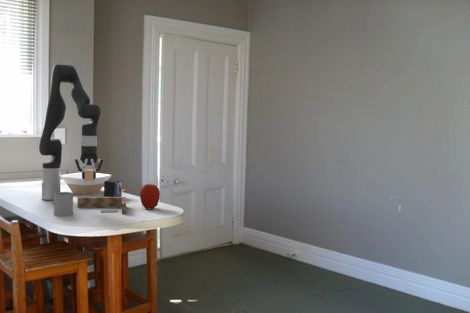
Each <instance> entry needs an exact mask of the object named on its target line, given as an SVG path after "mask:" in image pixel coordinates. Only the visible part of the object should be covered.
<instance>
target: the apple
mask: <svg viewBox="0 0 470 313" xmlns="http://www.w3.org/2000/svg"><path fill="white" fill-rule="evenodd" d="M160 192H161V190H160V188H159V187H158V185H156V184H151V183H148V184H144V185H143V186H142V187H141V188H140V192H139V198H140V199H139V200H140V203H141V205H142V206H143V208H144V209H145V210H152V209H153V210H154V209H155V208H156V207H157V206H158V205H159V201H160V196H161V193H160Z"/></svg>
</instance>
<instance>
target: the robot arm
mask: <svg viewBox="0 0 470 313" xmlns="http://www.w3.org/2000/svg"><path fill="white" fill-rule="evenodd" d="M50 81H51V82H50V93H49V97H48V103H47V107H46V112H45V113H46V115H45V119H44V126H43V130H42V133H41V136H40V141H39V145H38V146H39V147H38V148H39V149H38V150H39V153H40V155H42V156H51V157H50V158H49V159H48V160H46V161H43V163H42V181H41V200H48V201H51V200H52V201H54V193H58V192H61V178H60V176H61V165H62V153H63V152H62V150H63V144H62V141H61V139H60V138H52V135H53V134H54V132H55V131H56V129H58V127H59V126H60V125H61V124H62V122H63V121H64V119H65V114H66V111H67V110H66V109H67V106H66V105H67V104H66V102H65V100H64V98H63V96H62V93H61V83H66V84H67V83H69V84H70V85H72V87H71V91H70V94H71V98H72V100H73V101H74V103H75V105H76V109H77V113H78V116H79V118H82V119H83V120H84V119H86V120H87V119H89V122H86V123H83V124H82V125H81V139H80V142H81V143H80V146H81V147H80V152H81V154H80V157H79V158H75V159H74V163H75V164H76V168H77V171H79V172H80V173H82V179H83V180H85V169H86V167H87V166H92V169H93V180H94V178H96V173H98V172H99V171H100V170H101V168H102V165H103V162H104V159H103V158H99V157H98V138H97V133H98V130H97V129H98V124H99V120H100V117H101V108H100V106H99V105H97V104H93V103H92V104H91V99H90V97H89V96H88V94H87V93H86V90H84V87H83V85H82V82H81V80H80V77H79V74H78V72H77V69H76V68H75V66H73V65H70V64H62V63H56V64H54V66H53V67H52V70H51V78H50ZM80 162H82V164H83V165H82V168H81V166H80ZM97 162H98V166H97V168H96V166H95V164H96V163H97Z"/></svg>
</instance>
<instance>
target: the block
mask: <svg viewBox="0 0 470 313" xmlns="http://www.w3.org/2000/svg"><path fill="white" fill-rule="evenodd" d="M85 181H93V168H87V169H86V168H85Z"/></svg>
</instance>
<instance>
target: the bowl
mask: <svg viewBox="0 0 470 313" xmlns="http://www.w3.org/2000/svg"><path fill="white" fill-rule="evenodd" d="M110 178H112V174H110V173H109V174H108V173H100V172H96V178H94V180H93V181H85V180H83V179H82V172H74V173H68V174H66V173H65V174H60V180H61V179H62V181H64V183H66V185H67V186H68V188H69V190H70V191H71V193H73V194H75V195H82V196H83V195H84V196H85V195H86V196H88V195H89V196H90V195H94V194H99V193H100V192H101V190H102V189H103V188H104V181H106V180H110Z"/></svg>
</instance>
